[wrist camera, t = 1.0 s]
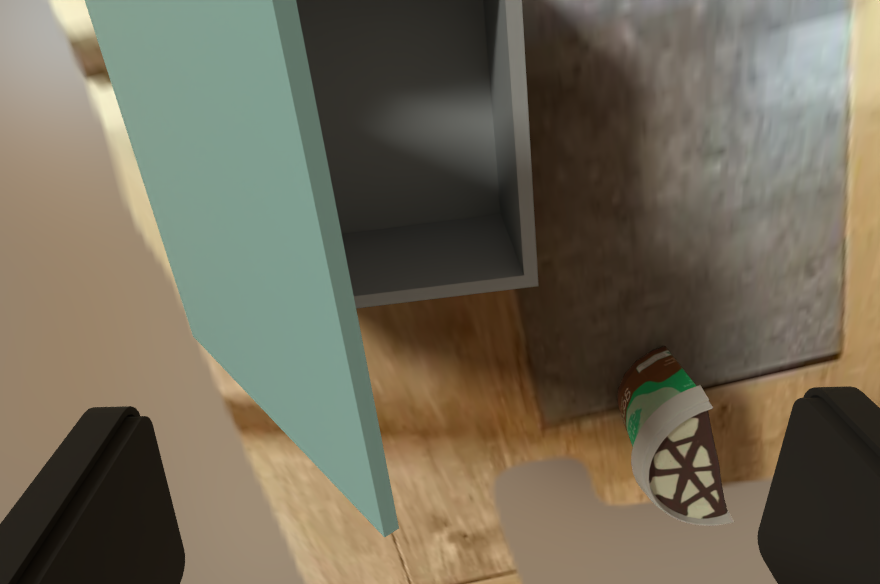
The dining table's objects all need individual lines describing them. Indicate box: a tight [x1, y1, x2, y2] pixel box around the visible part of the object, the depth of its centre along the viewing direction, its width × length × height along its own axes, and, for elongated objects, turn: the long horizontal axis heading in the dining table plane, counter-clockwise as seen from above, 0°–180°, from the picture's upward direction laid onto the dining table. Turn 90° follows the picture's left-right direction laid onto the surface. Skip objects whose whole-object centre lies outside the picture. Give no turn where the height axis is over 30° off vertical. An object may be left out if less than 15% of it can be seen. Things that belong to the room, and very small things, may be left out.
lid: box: [85, 0, 399, 537], centre depth 27 cm, size 21×19×1 cm
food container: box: [617, 346, 734, 526], centre depth 52 cm, size 12×6×10 cm, turn 19°
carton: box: [296, 0, 538, 308], centre depth 40 cm, size 20×18×12 cm
